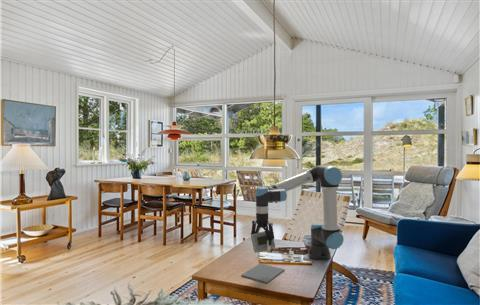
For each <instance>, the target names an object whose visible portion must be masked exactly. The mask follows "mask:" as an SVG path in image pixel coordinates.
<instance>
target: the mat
mask: <svg viewBox="0 0 480 305" xmlns="http://www.w3.org/2000/svg"><path fill="white" fill-rule="evenodd" d="M285 270H286V269H285V268H281V267H277V266H272V265H268V264H264V263H261V262H260V263H259V264H256V265H255V266H253V267H252V268H250V269H249V270H247V271H245V272H244V273H242V274H241V275H240V276H241V277H243V278H247V279H250V280H254V281H256V280H257V281H256V282H259V283H260V282H261V283H265V284H268V283H270V282H271V281H272V280H274V279H275V278H276V277H278V276H279V275H281V274H282V273H284V272H285Z"/></svg>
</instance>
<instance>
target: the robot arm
mask: <svg viewBox="0 0 480 305" xmlns="http://www.w3.org/2000/svg"><path fill="white" fill-rule="evenodd" d="M342 180H343V173H342V171H341V170H340V169H339V168H338V167H337V166H333V165H326V164H319V165H316V166H314V167H311V168H308V169H306V170H305V171H304V172H302V173H300V174H299V173H298V174H297V175H295V176H292V177H290V178H287V179H284V180H282V181H280V182H279V181H278V182H276V183H274V184H271V185H264V186H258V187H256V189H255V212H256V213H255V218H256V219H253V220H252V221H251V222H252V223H251V225H252V226H251V232H250V236H251V235H252V234H256V233H259V232H260V230H261V229H263V230H264V231H265V233H266V235H267V238H268V240H267V251H266V252H269V251H271V245H272V240H273V239H274V240H275V235H274V234H275V232H274V227H273V225H274V223H273V222H269V203H276V202H277V203H278V202H285V201H286V200H287V196H288V195H287V192H289V191H291V190H294V189H297V188H299V187H302V186H304V185H306V184H308V183H309V184H314V183H317V182H318V183H320V184H319V185H320V188H321V189H322V199H323V200H322V203H323V204H322V205H323V207H322V209H323V222H316V223H315V222H314V223H313V224H311V225H310V247H309V249H308V257H309V258H311V259H314V260H318V261H320V260H321V261H323V260H324V261H325V260H328V259H329V260H330V259H331V251H330V249H331V250H337V249H340V248H341V247H342V245H343V243H344V236H343V234H342V233H341V228H340V226H339V225H338V206H337V205H338V202H337V201H338V198H337V189H338V188H339V187H340V183H341V182H342Z"/></svg>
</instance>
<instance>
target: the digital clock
mask: <svg viewBox="0 0 480 305" xmlns="http://www.w3.org/2000/svg"><path fill="white" fill-rule="evenodd" d="M250 238H251V243H252V247H253V251H254V253H255V254H256V253H263V252H268V251H267V240H268V238H267V235H266V233H265V230H264V231H259V232H258V233H256V234H252V235H251V234H250ZM275 244H276V243H275V238H274V239H273V240H272V245H271V249H275V248H276V245H275Z"/></svg>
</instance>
